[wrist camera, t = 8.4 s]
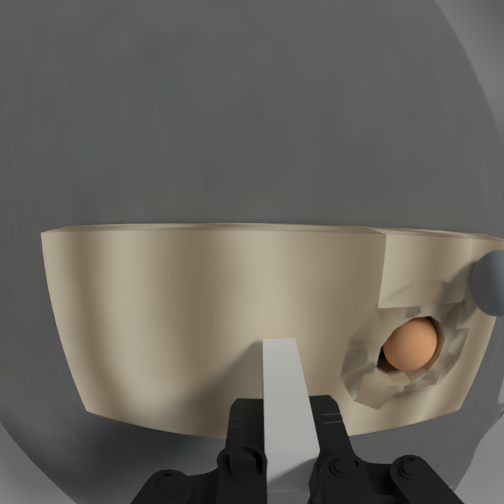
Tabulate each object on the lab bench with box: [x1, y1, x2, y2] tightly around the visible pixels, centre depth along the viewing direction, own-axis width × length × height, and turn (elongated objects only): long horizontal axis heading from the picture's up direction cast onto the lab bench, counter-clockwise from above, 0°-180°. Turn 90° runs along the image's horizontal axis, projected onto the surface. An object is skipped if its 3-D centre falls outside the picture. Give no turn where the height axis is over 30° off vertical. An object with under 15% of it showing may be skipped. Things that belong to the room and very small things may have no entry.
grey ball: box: [471, 250, 504, 316], centre depth 10 cm, size 4×4×4 cm
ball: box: [383, 317, 437, 371], centre depth 14 cm, size 4×4×4 cm
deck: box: [41, 223, 504, 439], centre depth 15 cm, size 28×13×3 cm, turn 89°
